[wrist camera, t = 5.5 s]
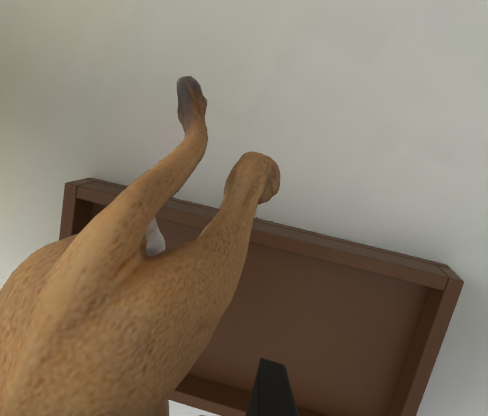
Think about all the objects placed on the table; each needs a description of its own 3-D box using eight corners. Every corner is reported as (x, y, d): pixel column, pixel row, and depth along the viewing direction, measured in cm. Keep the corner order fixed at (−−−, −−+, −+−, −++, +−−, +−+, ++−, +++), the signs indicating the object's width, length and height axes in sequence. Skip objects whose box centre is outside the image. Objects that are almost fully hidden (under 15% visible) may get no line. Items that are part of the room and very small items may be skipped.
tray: (447, 264, 17) (465, 281, 15) (388, 436, 19) (396, 470, 17) (89, 177, 19) (64, 182, 17) (69, 341, 21) (45, 362, 19)
